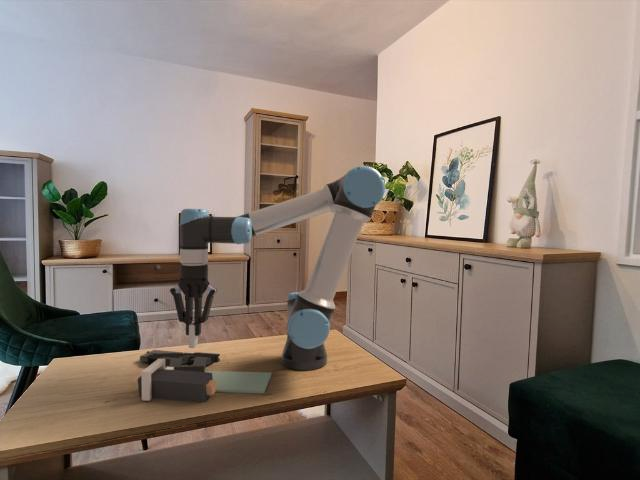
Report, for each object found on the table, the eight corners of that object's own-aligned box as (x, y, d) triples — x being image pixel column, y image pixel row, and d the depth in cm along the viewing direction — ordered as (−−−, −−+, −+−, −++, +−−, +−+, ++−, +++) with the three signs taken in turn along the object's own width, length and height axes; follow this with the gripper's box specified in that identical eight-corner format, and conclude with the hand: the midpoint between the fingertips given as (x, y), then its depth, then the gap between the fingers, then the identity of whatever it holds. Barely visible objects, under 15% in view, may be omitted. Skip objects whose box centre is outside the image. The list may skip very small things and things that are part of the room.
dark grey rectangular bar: (219, 390, 97) (217, 373, 96) (210, 403, 92) (209, 384, 91) (151, 385, 99) (149, 368, 98) (139, 397, 94) (137, 379, 93)
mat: (271, 374, 109) (271, 372, 109) (264, 393, 97) (264, 391, 97) (186, 372, 110) (186, 370, 110) (168, 390, 98) (168, 388, 98)
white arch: (173, 377, 106) (173, 352, 105) (149, 400, 92) (149, 372, 91) (167, 376, 106) (166, 351, 105) (141, 400, 92) (141, 371, 91)
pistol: (197, 370, 104) (222, 353, 119) (120, 362, 109) (152, 348, 124) (197, 377, 104) (221, 360, 119) (120, 370, 109) (152, 354, 124)
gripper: (221, 263, 105) (220, 342, 106) (177, 261, 106) (176, 341, 107) (212, 266, 98) (211, 352, 99) (165, 264, 98) (164, 350, 99)
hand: (193, 346), depth 103 cm, fingers closed
